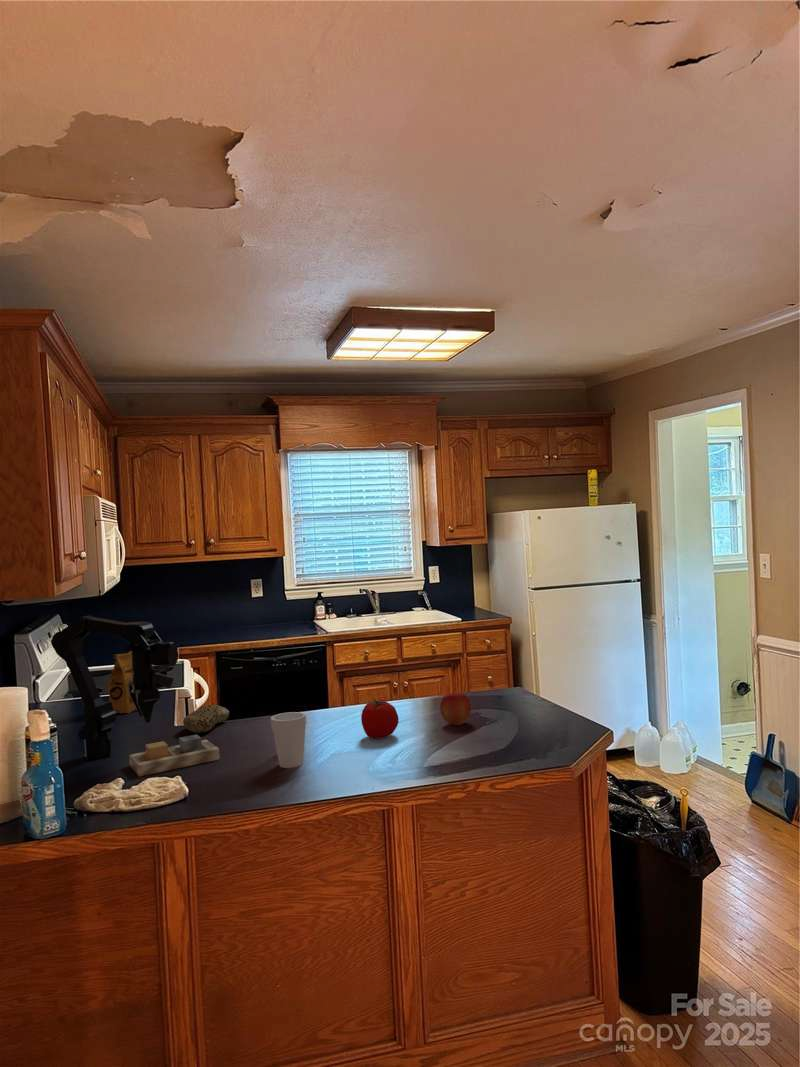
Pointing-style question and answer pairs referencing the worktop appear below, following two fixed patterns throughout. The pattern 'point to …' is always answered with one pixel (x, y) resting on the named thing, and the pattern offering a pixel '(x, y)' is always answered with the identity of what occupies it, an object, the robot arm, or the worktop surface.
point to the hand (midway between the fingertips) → (144, 719)
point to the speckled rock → (205, 718)
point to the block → (156, 750)
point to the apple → (455, 708)
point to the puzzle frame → (176, 756)
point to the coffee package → (121, 684)
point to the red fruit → (379, 719)
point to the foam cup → (289, 738)
